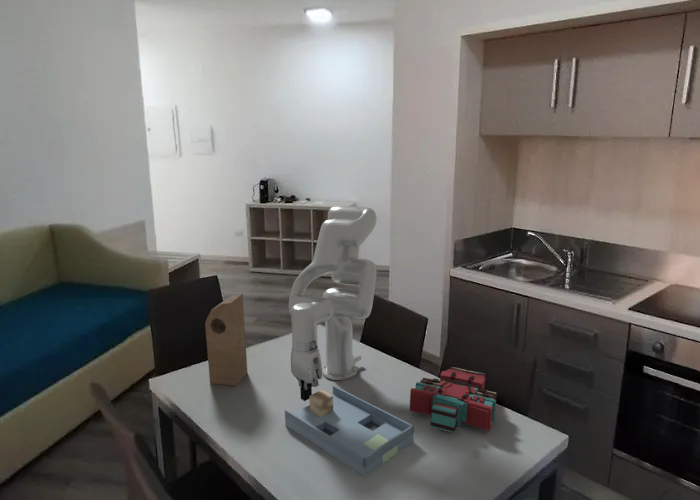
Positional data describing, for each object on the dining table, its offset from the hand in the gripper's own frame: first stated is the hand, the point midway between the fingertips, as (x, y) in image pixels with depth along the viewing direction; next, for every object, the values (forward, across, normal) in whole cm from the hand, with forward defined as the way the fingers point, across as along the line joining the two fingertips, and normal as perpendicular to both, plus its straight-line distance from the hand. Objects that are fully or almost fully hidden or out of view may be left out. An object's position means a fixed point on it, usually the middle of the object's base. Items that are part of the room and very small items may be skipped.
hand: (306, 398), depth 153 cm
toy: (+4, -34, -32) cm, 47 cm away
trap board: (+4, -18, 0) cm, 18 cm away
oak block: (+1, -7, 0) cm, 7 cm away
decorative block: (+4, +35, +6) cm, 36 cm away
